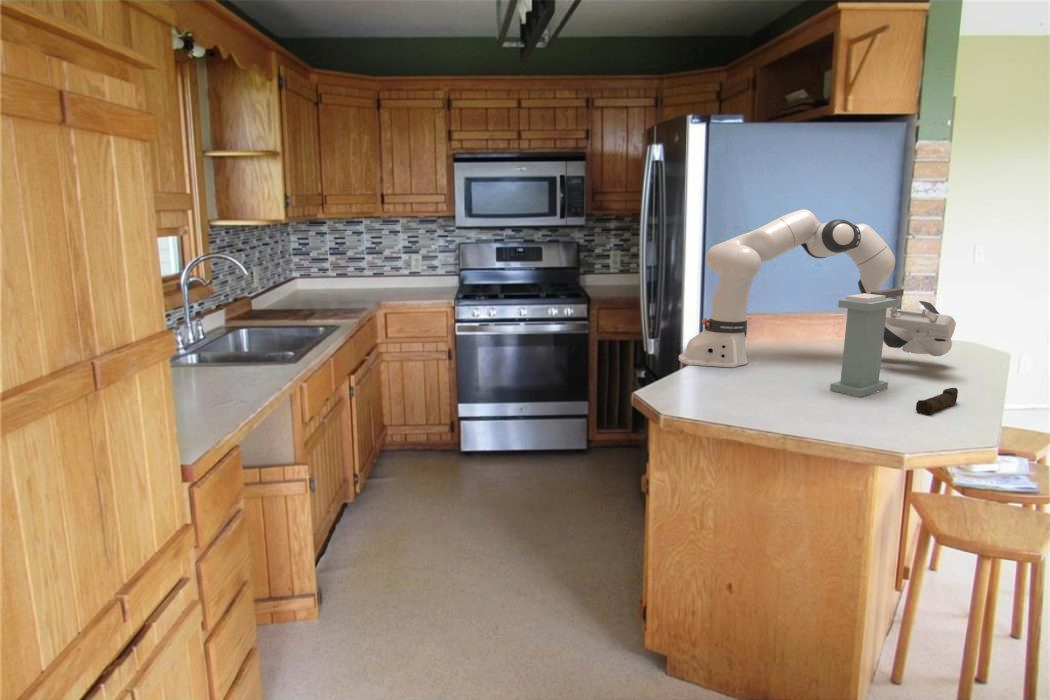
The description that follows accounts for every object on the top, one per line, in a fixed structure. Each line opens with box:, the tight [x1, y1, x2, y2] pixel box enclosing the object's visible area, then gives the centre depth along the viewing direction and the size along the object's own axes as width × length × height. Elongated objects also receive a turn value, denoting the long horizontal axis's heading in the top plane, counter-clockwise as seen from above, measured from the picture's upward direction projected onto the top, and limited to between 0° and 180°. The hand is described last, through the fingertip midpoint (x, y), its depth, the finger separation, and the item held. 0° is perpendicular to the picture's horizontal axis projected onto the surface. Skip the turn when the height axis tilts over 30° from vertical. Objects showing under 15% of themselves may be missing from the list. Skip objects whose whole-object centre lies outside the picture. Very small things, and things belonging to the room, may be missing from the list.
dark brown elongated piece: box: [915, 387, 959, 416], centre depth 190 cm, size 19×4×5 cm, turn 125°
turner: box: [845, 287, 904, 303], centre depth 206 cm, size 24×6×2 cm, turn 128°
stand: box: [829, 298, 898, 398], centre depth 206 cm, size 15×9×26 cm, turn 128°
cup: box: [901, 339, 929, 355], centre depth 260 cm, size 9×9×12 cm
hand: (908, 309), depth 219 cm, fingers open, 8 cm apart
